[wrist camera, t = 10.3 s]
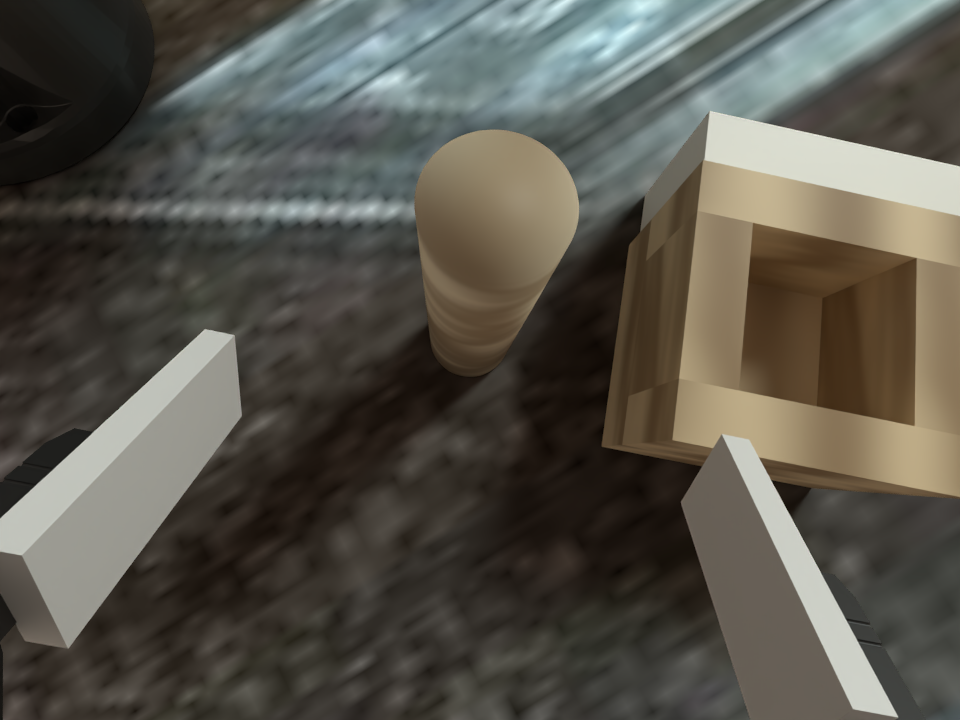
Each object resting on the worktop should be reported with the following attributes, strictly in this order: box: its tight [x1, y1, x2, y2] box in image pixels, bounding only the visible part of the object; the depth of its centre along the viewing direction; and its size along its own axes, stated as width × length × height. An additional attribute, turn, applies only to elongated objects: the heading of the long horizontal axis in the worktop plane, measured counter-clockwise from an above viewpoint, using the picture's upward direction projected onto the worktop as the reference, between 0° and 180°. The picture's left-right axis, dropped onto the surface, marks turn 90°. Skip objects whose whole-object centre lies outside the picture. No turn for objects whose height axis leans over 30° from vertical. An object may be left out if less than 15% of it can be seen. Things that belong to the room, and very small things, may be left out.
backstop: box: [640, 111, 960, 232], centre depth 25 cm, size 16×2×7 cm, turn 79°
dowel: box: [415, 130, 579, 377], centre depth 19 cm, size 4×4×14 cm
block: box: [601, 160, 960, 499], centre depth 23 cm, size 11×11×8 cm
